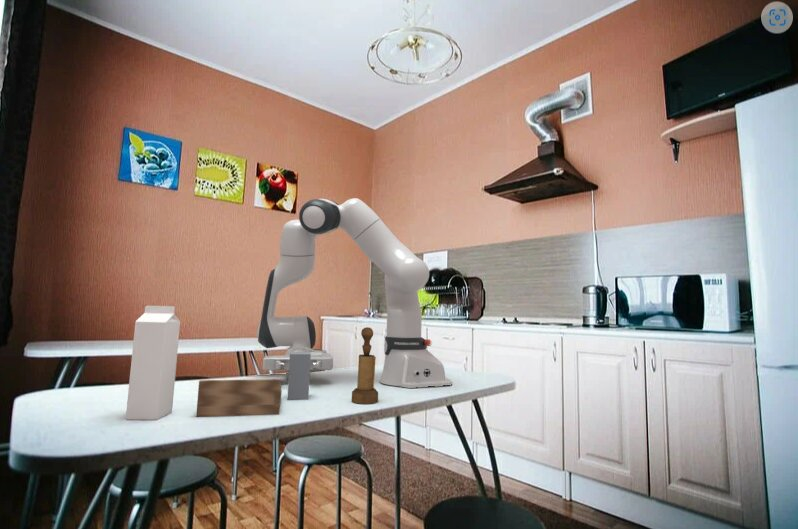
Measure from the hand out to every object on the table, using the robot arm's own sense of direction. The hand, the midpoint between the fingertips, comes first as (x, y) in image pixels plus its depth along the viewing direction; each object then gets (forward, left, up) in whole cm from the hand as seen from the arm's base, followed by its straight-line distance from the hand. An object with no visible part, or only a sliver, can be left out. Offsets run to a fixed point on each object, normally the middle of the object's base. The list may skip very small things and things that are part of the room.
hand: (298, 366), depth 114 cm
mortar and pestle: (-16, +18, -6) cm, 25 cm away
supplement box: (-18, +8, -6) cm, 21 cm away
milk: (+29, +26, -6) cm, 39 cm away
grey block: (0, +12, -6) cm, 13 cm away
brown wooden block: (+12, +20, -6) cm, 24 cm away
